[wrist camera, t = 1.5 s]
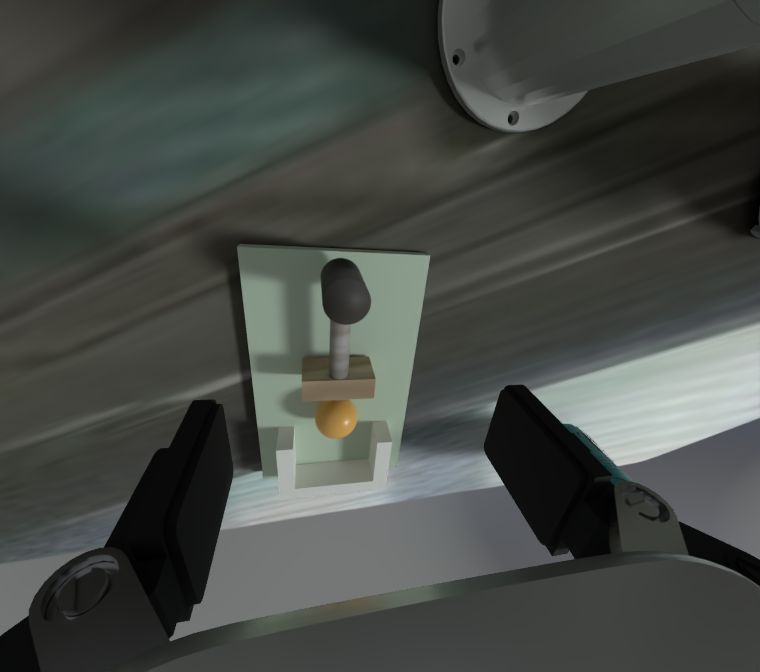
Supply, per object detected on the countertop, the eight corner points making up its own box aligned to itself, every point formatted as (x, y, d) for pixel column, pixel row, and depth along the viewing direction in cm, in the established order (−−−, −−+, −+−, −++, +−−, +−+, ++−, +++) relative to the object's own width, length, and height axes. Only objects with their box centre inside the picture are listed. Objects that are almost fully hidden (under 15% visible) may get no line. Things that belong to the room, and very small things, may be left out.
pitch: (239, 243, 25) (236, 246, 24) (426, 252, 28) (430, 255, 27) (264, 471, 36) (263, 478, 35) (394, 459, 39) (396, 466, 38)
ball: (314, 387, 31) (314, 416, 27) (356, 385, 32) (361, 413, 28) (314, 419, 33) (314, 450, 29) (354, 417, 33) (358, 446, 30)
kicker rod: (299, 250, 24) (296, 277, 19) (377, 254, 26) (397, 280, 20) (303, 376, 30) (300, 428, 24) (367, 374, 31) (380, 423, 25)
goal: (278, 427, 32) (275, 450, 30) (386, 420, 34) (392, 441, 32) (282, 475, 35) (280, 500, 33) (380, 466, 38) (385, 489, 35)
